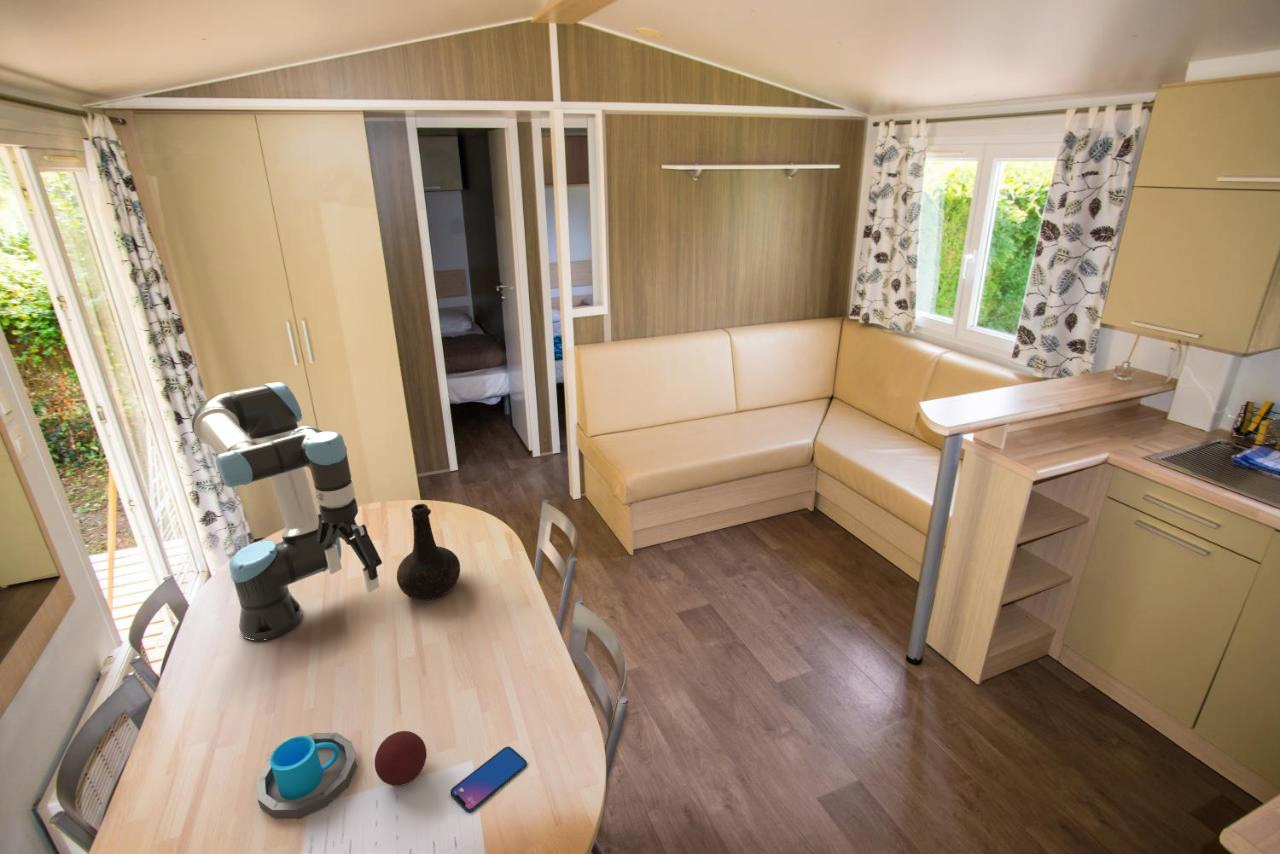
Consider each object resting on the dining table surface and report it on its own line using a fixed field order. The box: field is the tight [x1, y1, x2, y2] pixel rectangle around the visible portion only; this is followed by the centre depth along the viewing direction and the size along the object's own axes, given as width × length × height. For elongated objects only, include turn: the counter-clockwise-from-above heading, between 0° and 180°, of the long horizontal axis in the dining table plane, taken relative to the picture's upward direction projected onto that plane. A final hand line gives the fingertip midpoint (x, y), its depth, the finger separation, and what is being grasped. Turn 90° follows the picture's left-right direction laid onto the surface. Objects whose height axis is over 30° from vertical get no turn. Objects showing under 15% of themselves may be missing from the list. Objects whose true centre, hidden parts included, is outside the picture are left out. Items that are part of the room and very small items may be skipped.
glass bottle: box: [396, 503, 461, 601], centre depth 186 cm, size 18×18×28 cm
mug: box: [269, 735, 339, 800], centre depth 131 cm, size 12×8×8 cm
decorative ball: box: [374, 730, 428, 787], centre depth 132 cm, size 10×10×10 cm
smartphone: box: [449, 746, 528, 814], centre depth 133 cm, size 7×1×15 cm
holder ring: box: [255, 732, 358, 820], centre depth 133 cm, size 18×18×2 cm
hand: (354, 580), depth 151 cm, fingers open, 13 cm apart
